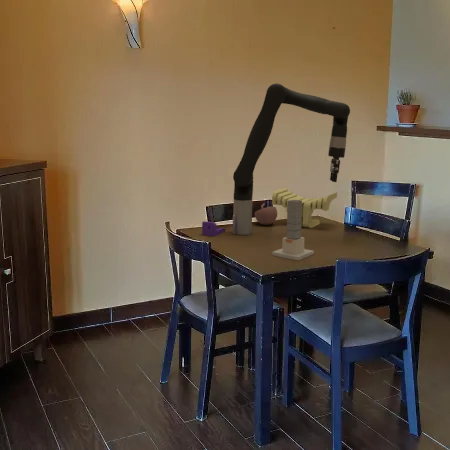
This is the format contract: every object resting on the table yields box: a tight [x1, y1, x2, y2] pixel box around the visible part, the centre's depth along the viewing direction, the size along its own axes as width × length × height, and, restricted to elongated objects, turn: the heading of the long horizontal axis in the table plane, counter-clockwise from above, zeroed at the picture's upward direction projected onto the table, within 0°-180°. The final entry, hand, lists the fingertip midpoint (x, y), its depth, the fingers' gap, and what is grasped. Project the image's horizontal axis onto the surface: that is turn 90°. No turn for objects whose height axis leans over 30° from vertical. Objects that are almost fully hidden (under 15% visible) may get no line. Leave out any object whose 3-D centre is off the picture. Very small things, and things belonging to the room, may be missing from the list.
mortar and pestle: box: [254, 202, 278, 226], centre depth 306 cm, size 12×12×12 cm
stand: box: [271, 236, 315, 262], centre depth 248 cm, size 13×13×8 cm
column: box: [286, 200, 302, 240], centre depth 246 cm, size 5×5×22 cm
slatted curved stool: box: [271, 187, 338, 229], centre depth 305 cm, size 30×16×18 cm, turn 60°
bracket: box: [201, 221, 226, 237], centre depth 286 cm, size 12×7×7 cm, turn 156°
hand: (333, 181), depth 273 cm, fingers open, 8 cm apart
